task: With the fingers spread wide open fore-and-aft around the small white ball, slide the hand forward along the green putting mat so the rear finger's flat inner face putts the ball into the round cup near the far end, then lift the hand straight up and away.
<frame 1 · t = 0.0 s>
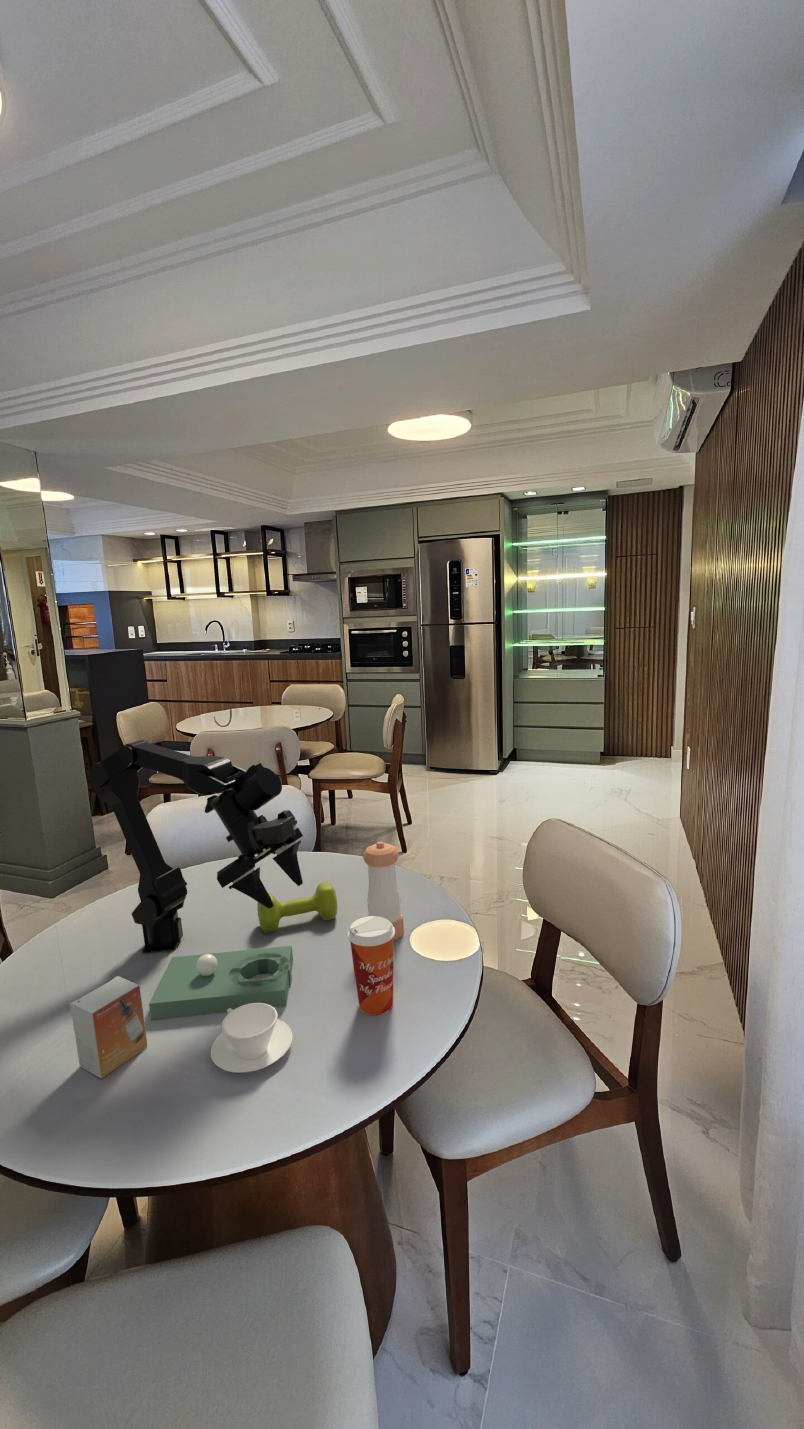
hand: (286, 895, 112), 15 cm above the table, tool tilted 35°, fingers open, 9 cm apart
ball: (206, 965, 110), point 5 cm above the table, touching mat
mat: (227, 988, 111), on the table
teacup: (253, 1052, 95), on the table
paper cup: (376, 1005, 104), on the table
small box: (114, 1058, 95), on the table
salt shaker: (386, 933, 127), on the table
dumbbell: (299, 923, 134), on the table
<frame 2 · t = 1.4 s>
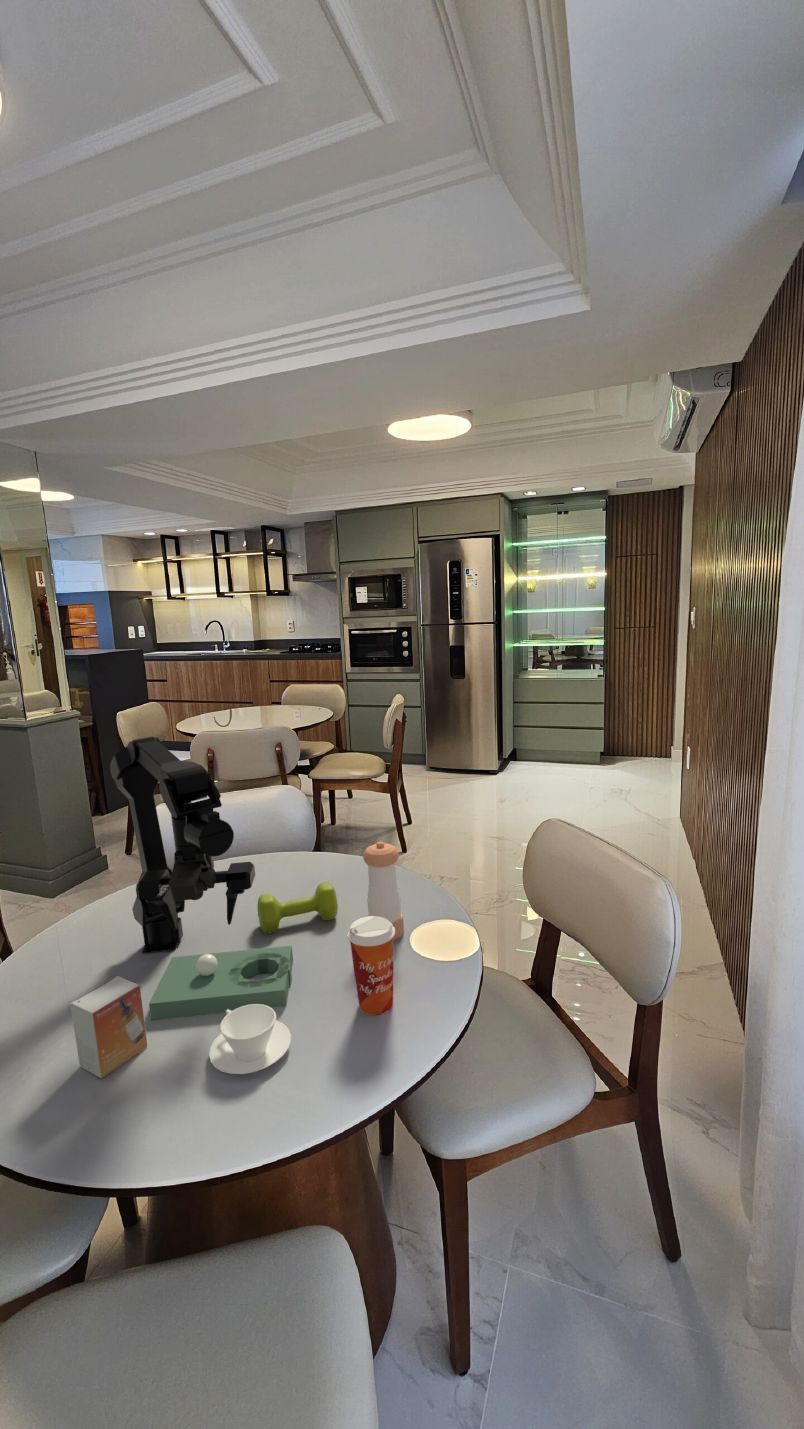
hand: (202, 926, 109), 12 cm above the table, tool pointing down, fingers open, 9 cm apart
nothing on the table moved.
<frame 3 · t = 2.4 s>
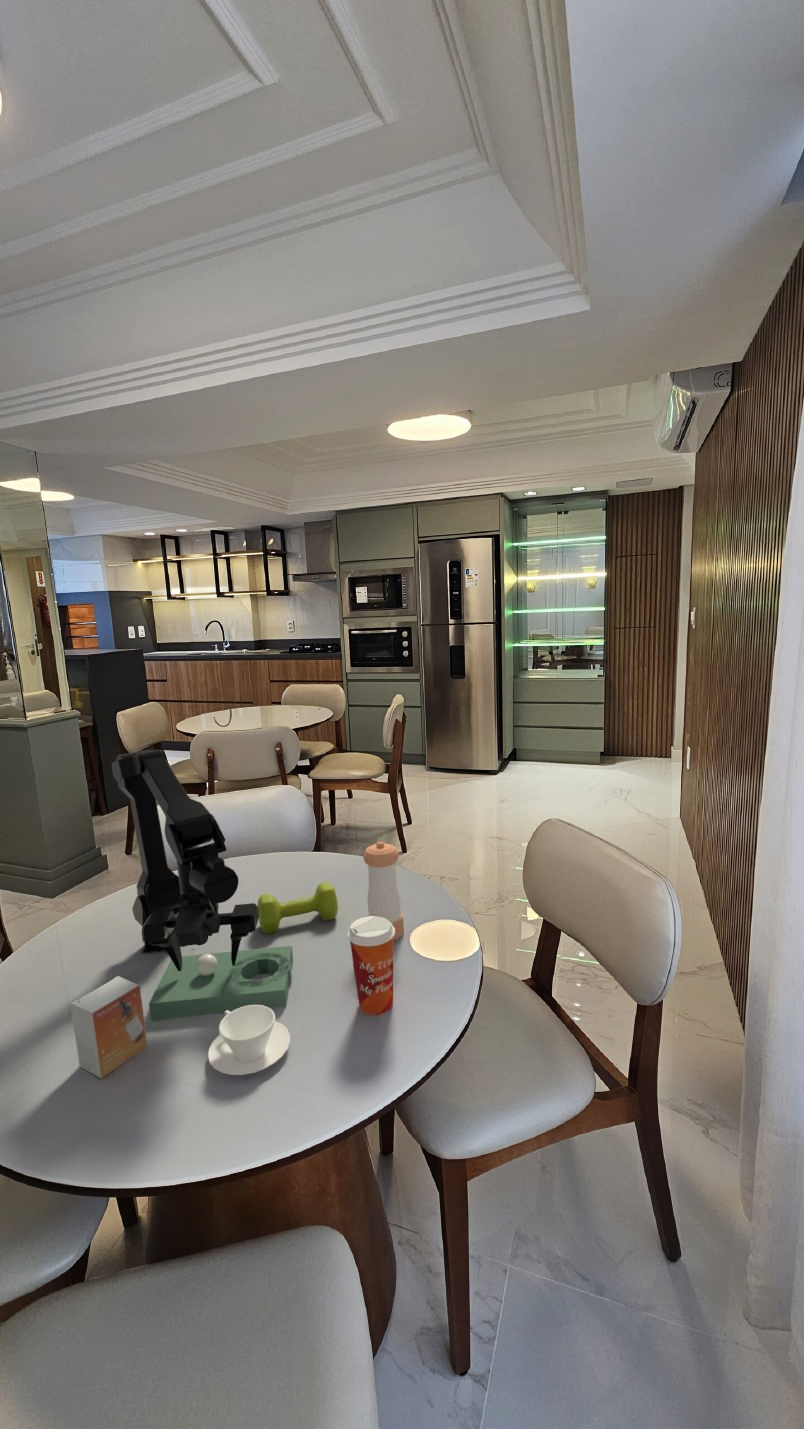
hand: (207, 967, 110), 4 cm above the table, tool pointing down, fingers open, 9 cm apart
nothing on the table moved.
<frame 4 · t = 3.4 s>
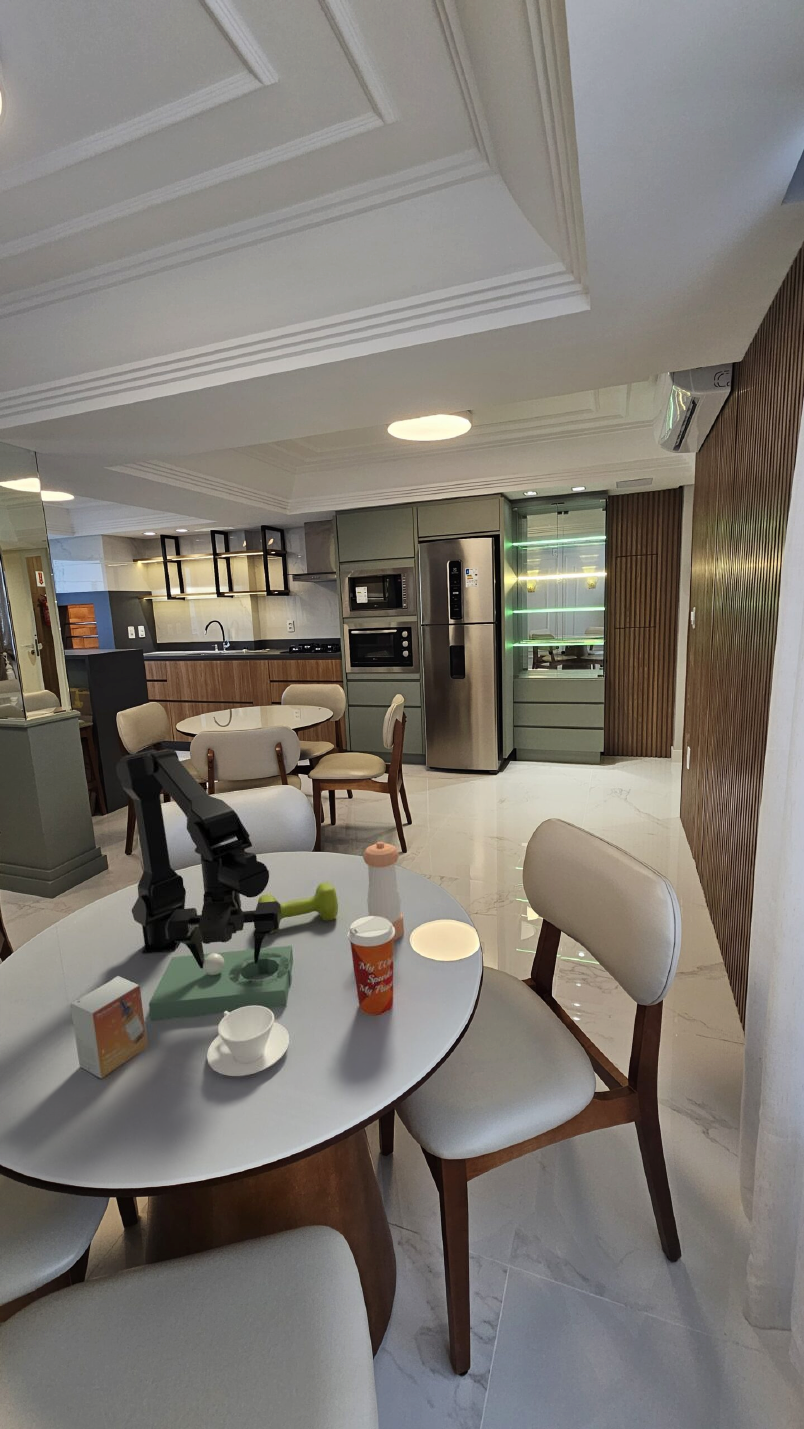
hand: (229, 965, 110), 4 cm above the table, tool pointing down, fingers open, 9 cm apart
ball: (213, 964, 110), point 5 cm above the table, tilted 35°, touching gripper, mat
everything else where it was.
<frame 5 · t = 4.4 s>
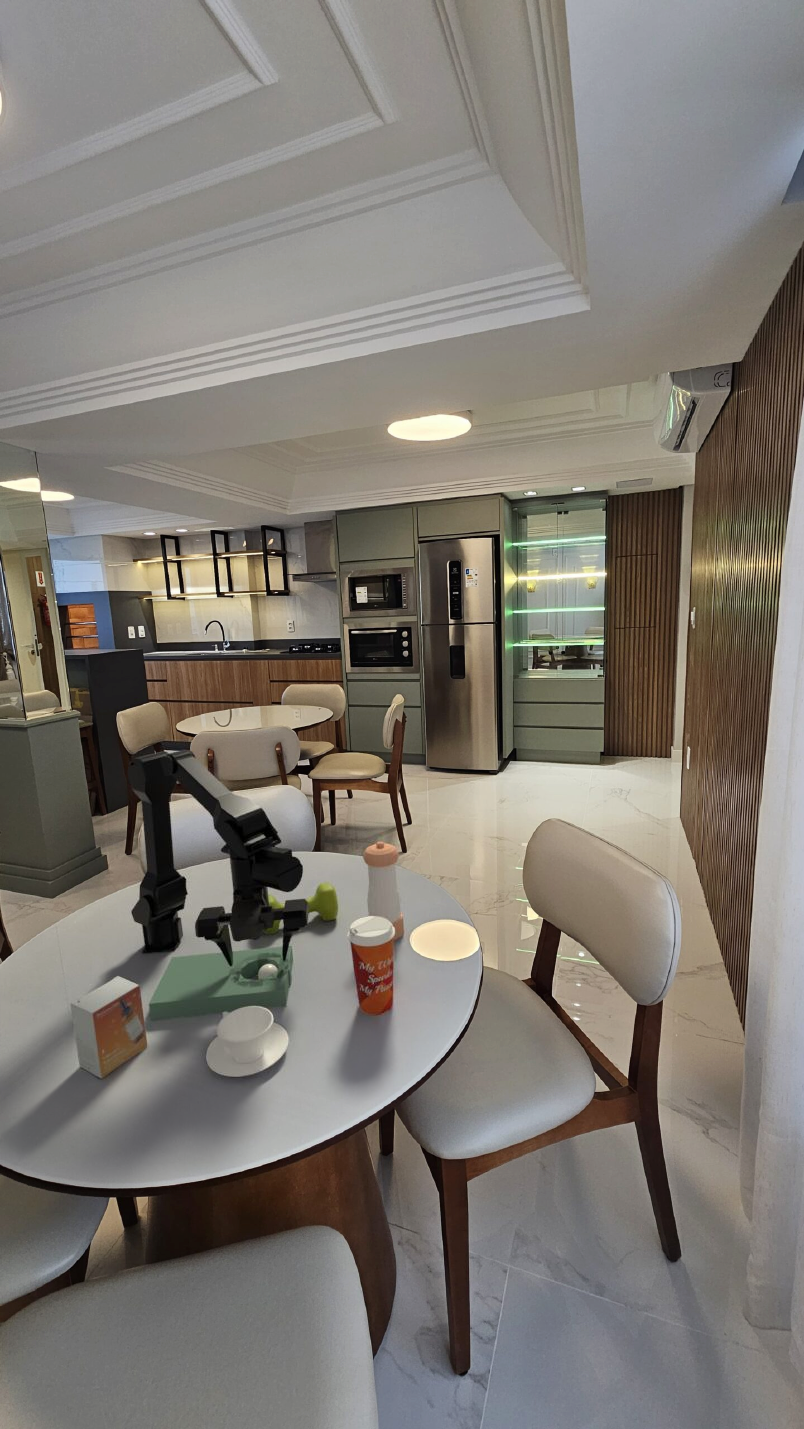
hand: (258, 962, 111), 4 cm above the table, tool pointing down, fingers open, 9 cm apart
ball: (268, 975, 111), point 2 cm above the table, tilted 25°
everything else where it was.
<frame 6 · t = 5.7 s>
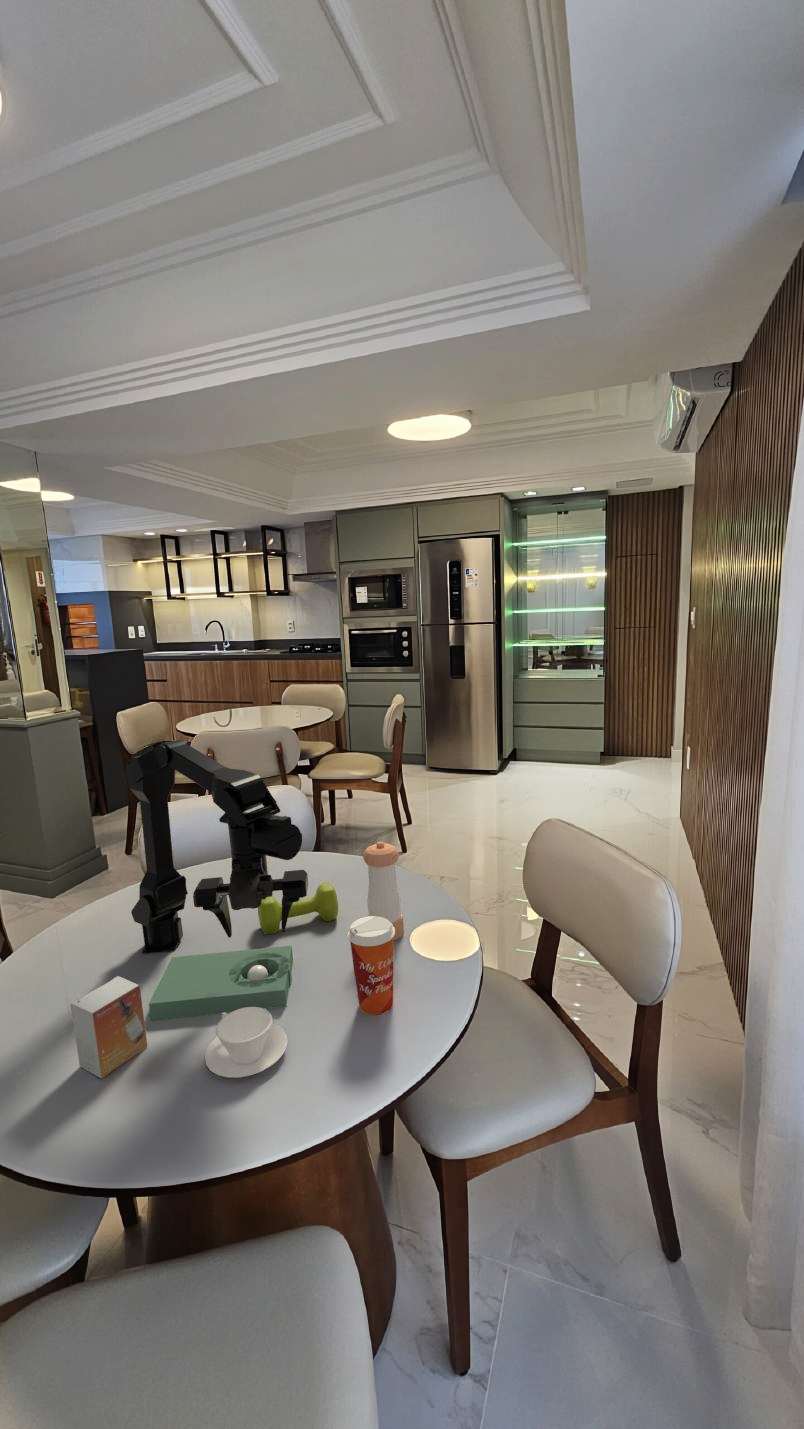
hand: (257, 934, 110), 10 cm above the table, tool pointing down, fingers open, 9 cm apart
ball: (257, 976, 111), point 2 cm above the table, tilted 84°
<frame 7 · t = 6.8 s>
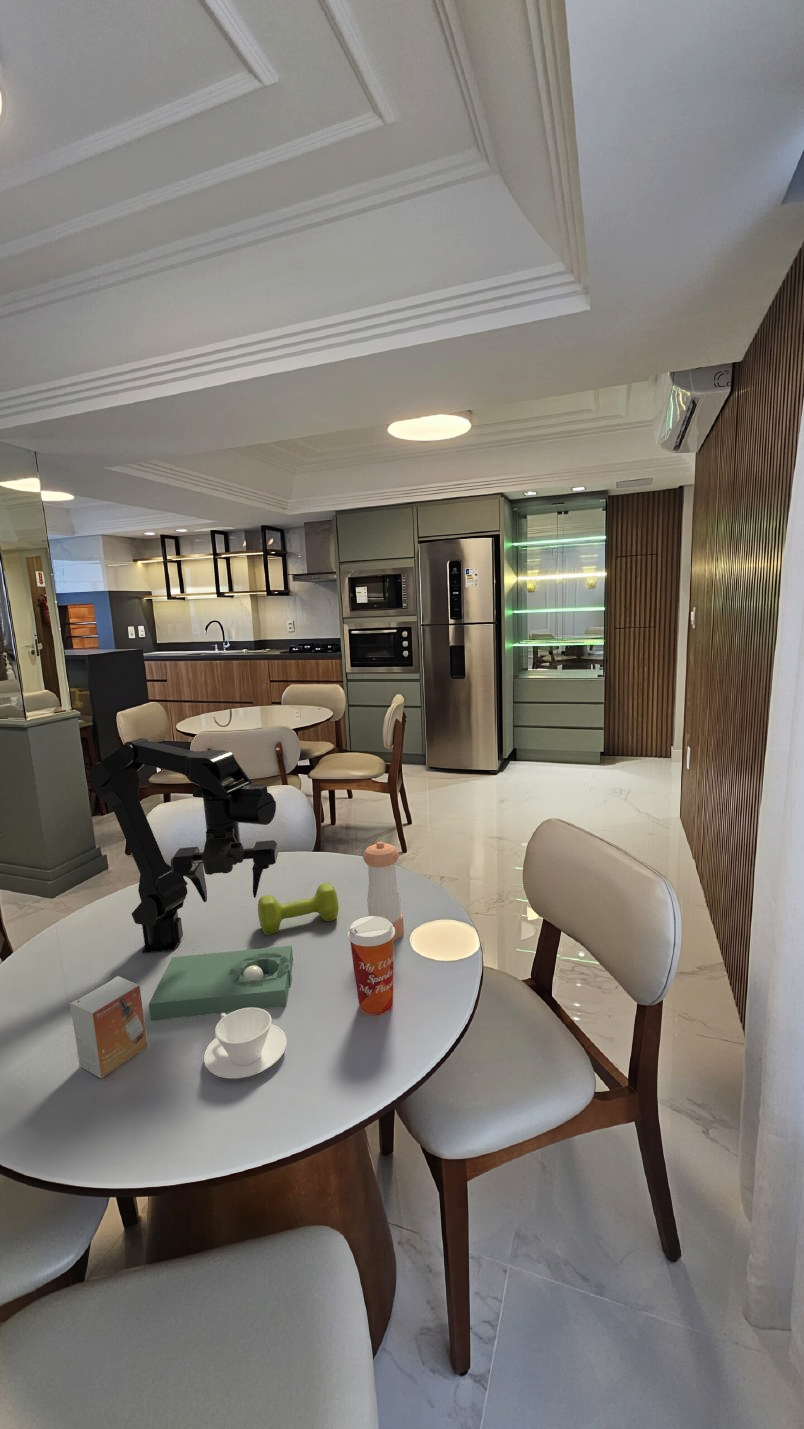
hand: (230, 899, 119), 12 cm above the table, tool pointing down, fingers open, 9 cm apart
ball: (252, 976, 111), point 2 cm above the table, tilted 111°
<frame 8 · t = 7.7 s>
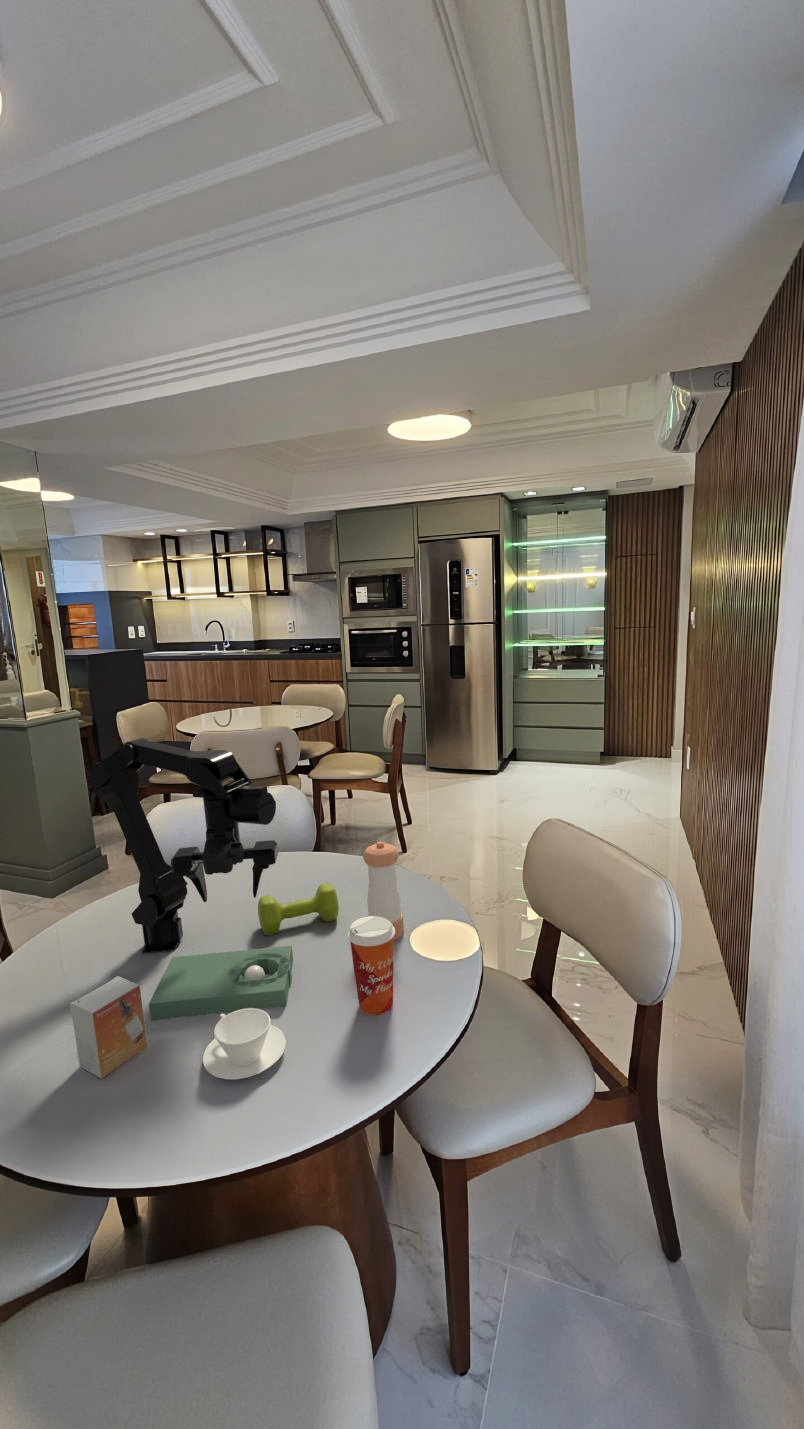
hand: (230, 899, 119), 12 cm above the table, tool pointing down, fingers open, 9 cm apart
ball: (254, 976, 111), point 2 cm above the table, tilted 102°
at the end: ball 1.0 cm from the target spot in the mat, point 1.8 cm above the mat's base; the gripper is holding nothing; teacup moved 1.6 cm from its start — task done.
